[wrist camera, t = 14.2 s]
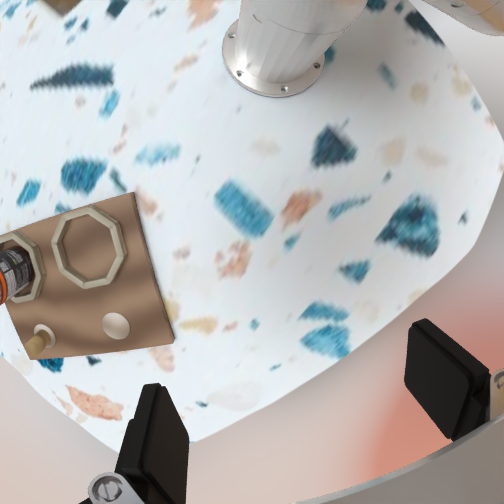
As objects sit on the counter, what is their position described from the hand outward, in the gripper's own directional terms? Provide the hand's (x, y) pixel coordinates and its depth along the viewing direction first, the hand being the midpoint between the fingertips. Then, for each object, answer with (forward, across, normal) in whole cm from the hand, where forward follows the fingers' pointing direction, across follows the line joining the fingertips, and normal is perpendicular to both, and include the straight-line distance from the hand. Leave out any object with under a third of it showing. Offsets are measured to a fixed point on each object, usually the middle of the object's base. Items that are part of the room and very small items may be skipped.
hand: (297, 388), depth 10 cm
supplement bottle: (+27, +32, -3) cm, 42 cm away
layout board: (+28, +25, +2) cm, 38 cm away
